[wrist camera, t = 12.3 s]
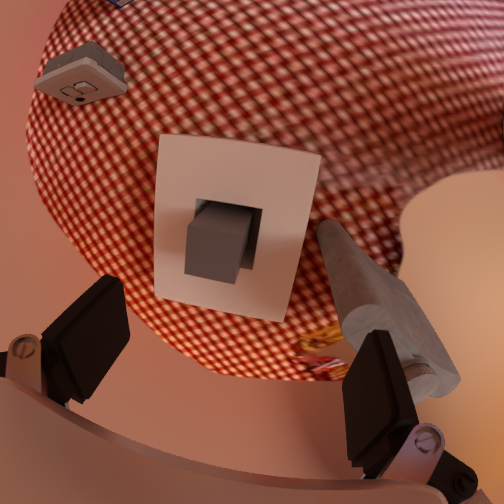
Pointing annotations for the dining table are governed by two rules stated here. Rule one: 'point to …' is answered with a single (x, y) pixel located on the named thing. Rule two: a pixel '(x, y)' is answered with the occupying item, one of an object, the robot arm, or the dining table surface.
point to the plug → (218, 241)
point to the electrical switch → (82, 76)
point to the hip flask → (384, 313)
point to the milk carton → (119, 2)
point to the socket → (241, 193)
